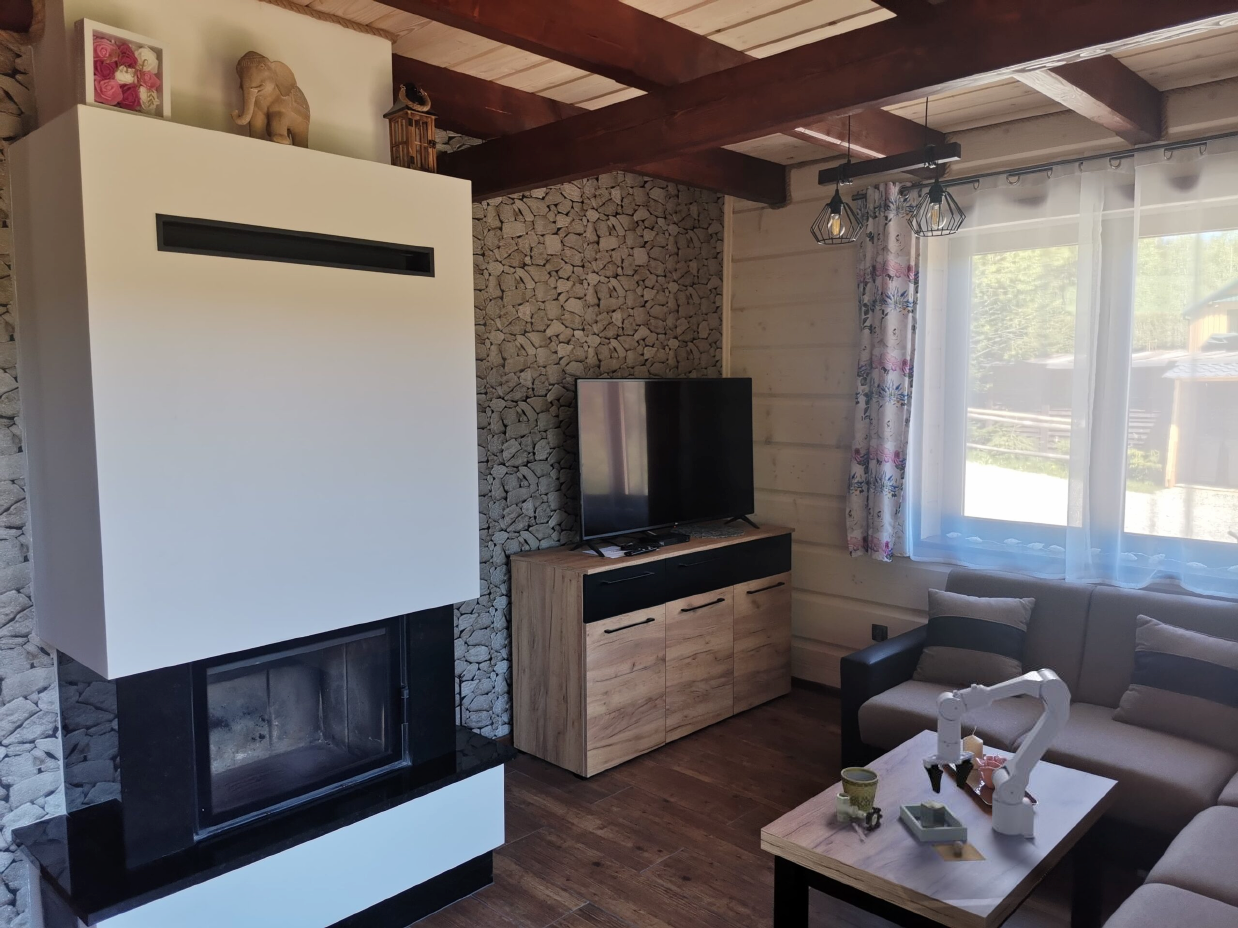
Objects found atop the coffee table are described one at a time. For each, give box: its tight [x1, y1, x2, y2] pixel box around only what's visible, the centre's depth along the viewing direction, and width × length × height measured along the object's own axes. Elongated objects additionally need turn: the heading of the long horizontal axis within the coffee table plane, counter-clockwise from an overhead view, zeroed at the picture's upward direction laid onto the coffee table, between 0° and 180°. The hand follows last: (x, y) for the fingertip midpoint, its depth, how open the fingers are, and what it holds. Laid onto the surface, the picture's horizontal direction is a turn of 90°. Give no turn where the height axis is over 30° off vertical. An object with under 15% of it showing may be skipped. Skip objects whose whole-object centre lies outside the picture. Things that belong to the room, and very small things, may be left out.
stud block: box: [932, 840, 987, 862], centre depth 215 cm, size 10×8×4 cm
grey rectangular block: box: [920, 799, 946, 828], centre depth 227 cm, size 4×4×6 cm
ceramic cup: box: [840, 766, 879, 814], centre depth 241 cm, size 13×10×10 cm
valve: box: [835, 792, 884, 832], centre depth 232 cm, size 7×7×12 cm
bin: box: [899, 802, 968, 842], centre depth 228 cm, size 12×14×4 cm
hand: (948, 789), depth 229 cm, fingers open, 7 cm apart
